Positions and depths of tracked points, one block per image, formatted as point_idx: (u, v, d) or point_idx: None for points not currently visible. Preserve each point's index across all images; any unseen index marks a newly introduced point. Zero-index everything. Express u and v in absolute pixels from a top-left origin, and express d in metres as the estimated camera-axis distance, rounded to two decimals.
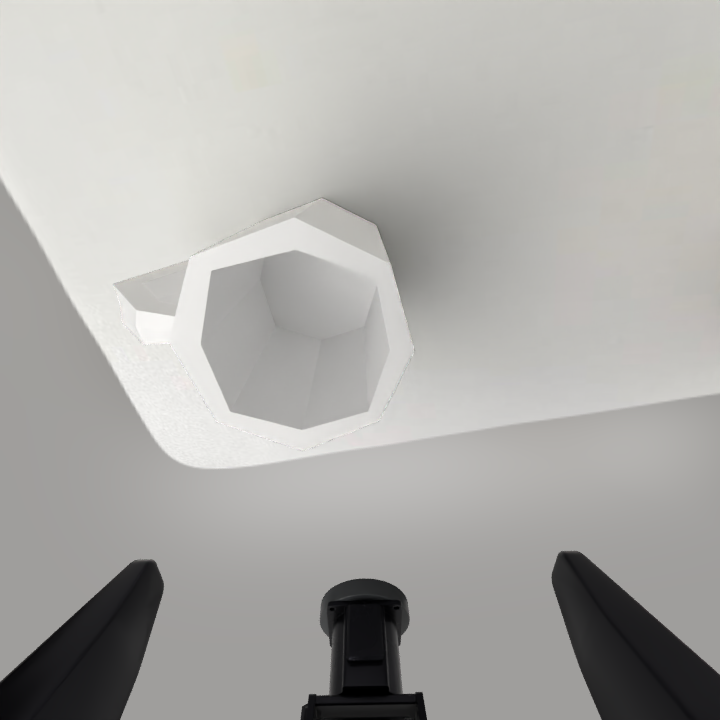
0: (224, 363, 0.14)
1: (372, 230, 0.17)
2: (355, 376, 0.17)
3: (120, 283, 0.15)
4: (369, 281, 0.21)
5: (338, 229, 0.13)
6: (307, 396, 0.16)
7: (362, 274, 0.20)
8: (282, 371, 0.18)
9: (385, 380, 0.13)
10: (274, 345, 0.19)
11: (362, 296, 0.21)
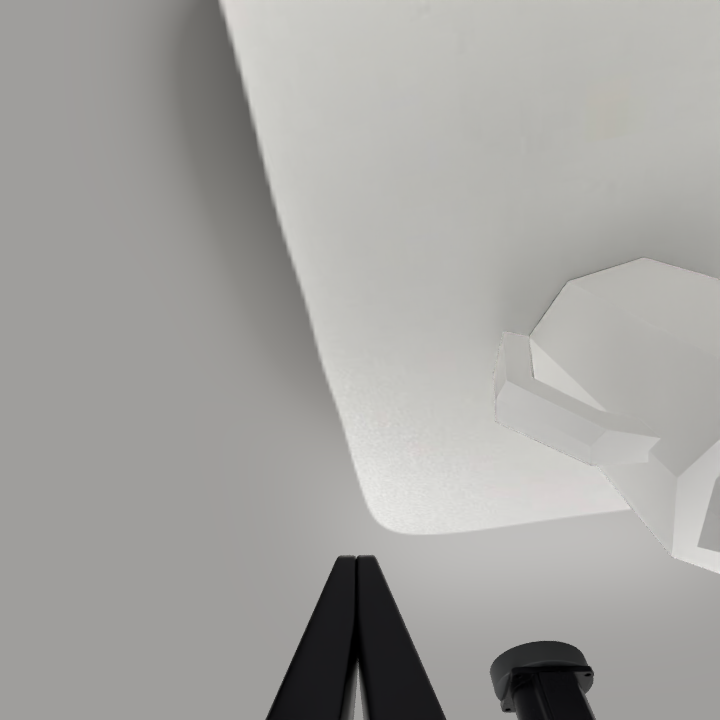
0: None
1: None
2: None
3: (510, 377, 0.13)
4: None
5: None
6: None
7: None
8: None
9: None
10: None
11: None
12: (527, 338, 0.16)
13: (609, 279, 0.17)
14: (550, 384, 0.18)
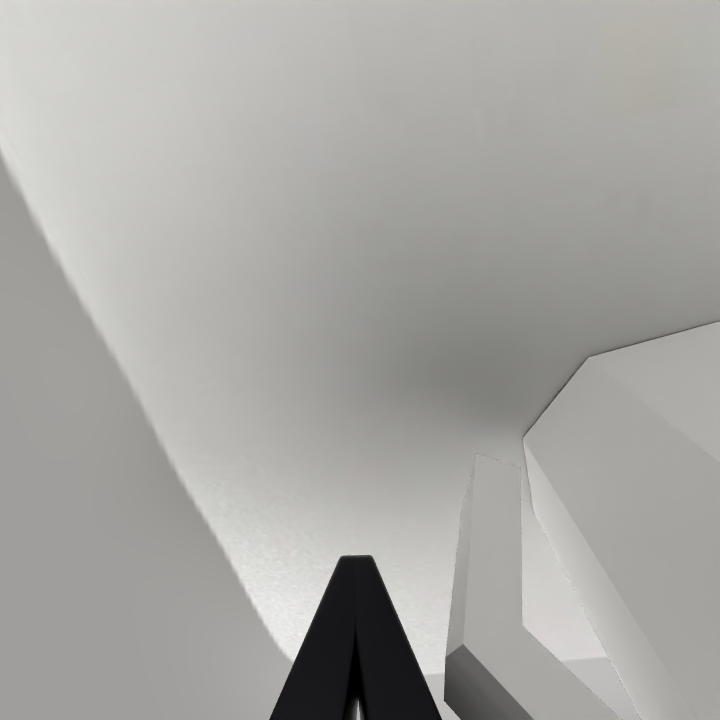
0: None
1: None
2: None
3: (473, 630, 0.06)
4: None
5: None
6: None
7: None
8: None
9: None
10: None
11: None
12: (517, 475, 0.09)
13: (664, 364, 0.09)
14: (557, 528, 0.11)
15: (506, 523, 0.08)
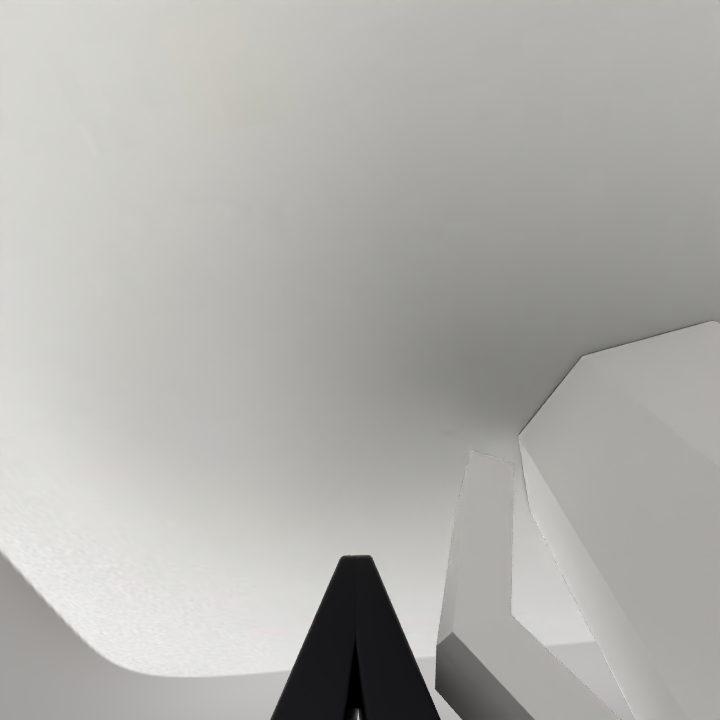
0: None
1: None
2: None
3: (463, 618, 0.06)
4: None
5: None
6: None
7: None
8: None
9: None
10: None
11: None
12: (510, 471, 0.09)
13: (656, 363, 0.09)
14: (551, 525, 0.11)
15: (498, 517, 0.08)
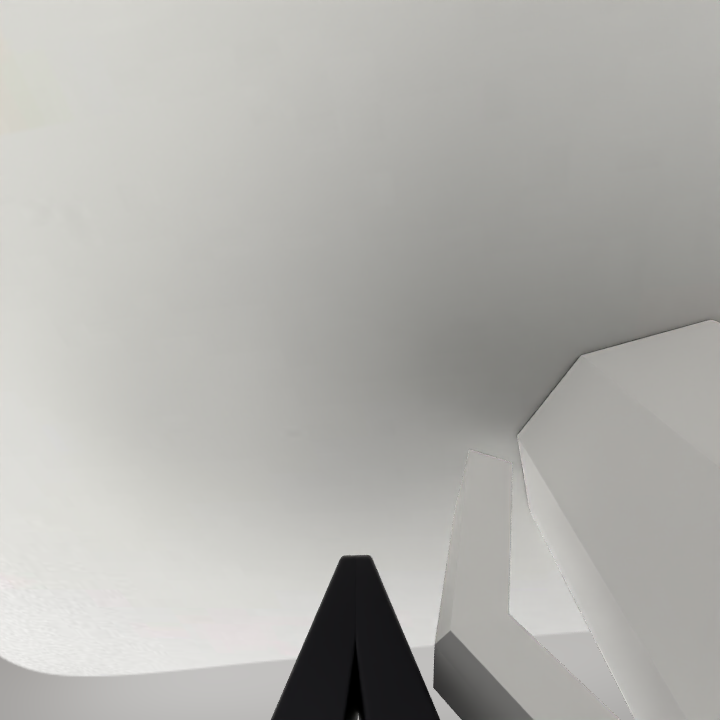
0: None
1: None
2: None
3: (461, 616, 0.06)
4: None
5: None
6: None
7: None
8: None
9: None
10: None
11: None
12: (508, 470, 0.09)
13: (655, 362, 0.09)
14: (550, 524, 0.11)
15: (496, 516, 0.08)
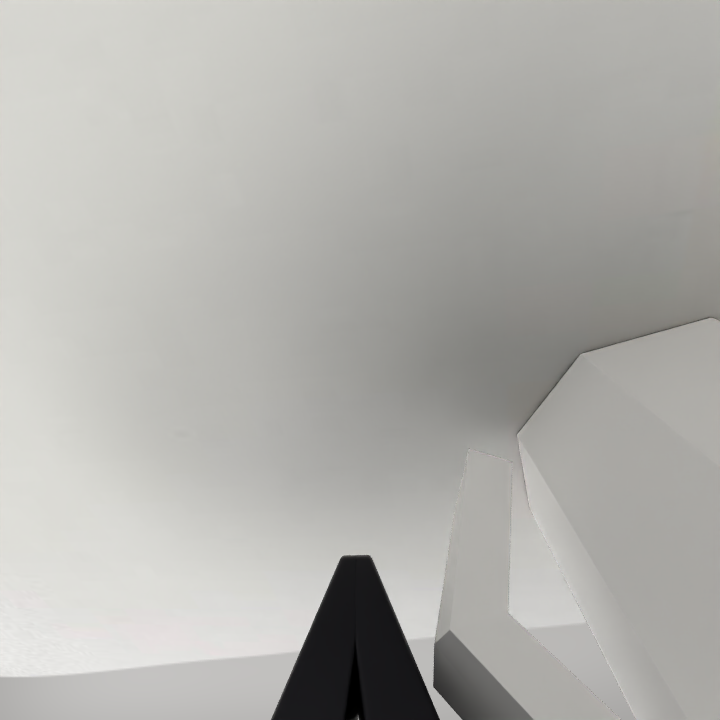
0: None
1: None
2: None
3: (460, 616, 0.06)
4: None
5: None
6: None
7: None
8: None
9: None
10: None
11: None
12: (508, 470, 0.09)
13: (654, 360, 0.09)
14: (550, 523, 0.11)
15: (496, 515, 0.08)
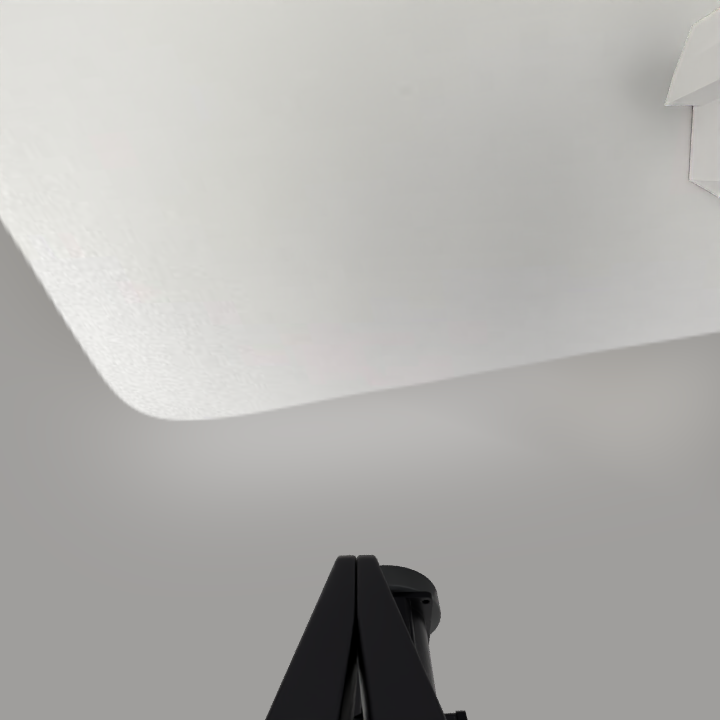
0: None
1: None
2: None
3: None
4: None
5: None
6: None
7: None
8: None
9: None
10: None
11: None
12: None
13: None
14: None
15: None
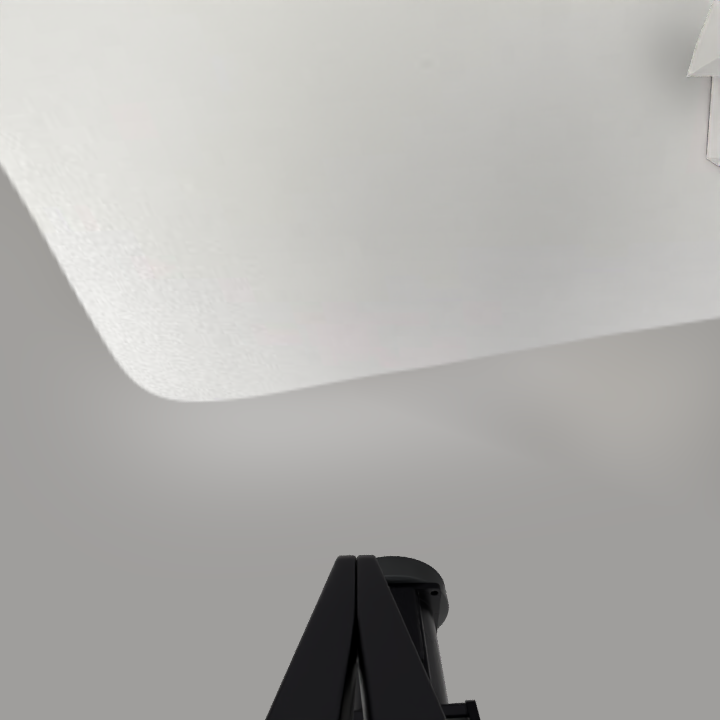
0: None
1: None
2: None
3: None
4: None
5: None
6: None
7: None
8: None
9: None
10: None
11: None
12: None
13: None
14: None
15: None
